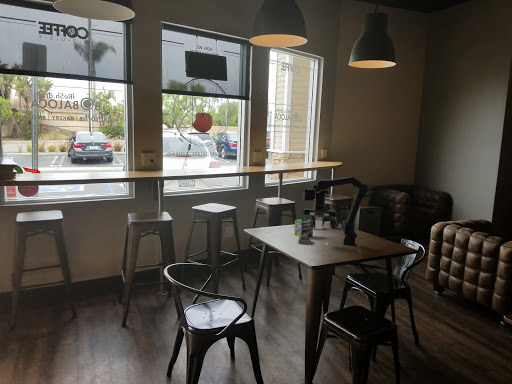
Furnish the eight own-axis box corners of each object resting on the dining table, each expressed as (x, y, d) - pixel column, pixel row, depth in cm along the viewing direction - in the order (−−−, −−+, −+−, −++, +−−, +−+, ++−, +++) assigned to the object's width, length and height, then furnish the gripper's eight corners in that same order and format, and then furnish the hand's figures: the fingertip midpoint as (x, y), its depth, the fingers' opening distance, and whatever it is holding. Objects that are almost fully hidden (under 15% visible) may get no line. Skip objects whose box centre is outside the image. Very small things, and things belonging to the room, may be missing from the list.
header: (310, 241, 244) (310, 237, 244) (309, 244, 236) (310, 241, 235) (299, 240, 245) (299, 236, 245) (298, 244, 237) (298, 240, 237)
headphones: (313, 229, 278) (314, 204, 276) (309, 227, 285) (311, 202, 282) (339, 229, 282) (340, 204, 279) (335, 227, 289) (337, 202, 286)
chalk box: (305, 235, 263) (306, 213, 261) (313, 238, 255) (314, 216, 253) (293, 236, 259) (294, 214, 257) (301, 240, 251) (302, 217, 249)
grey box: (322, 227, 237) (322, 217, 236) (322, 229, 232) (322, 219, 231) (315, 226, 237) (315, 217, 237) (315, 228, 233) (315, 218, 232)
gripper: (303, 202, 226) (302, 228, 228) (336, 204, 223) (334, 230, 225) (304, 199, 237) (303, 224, 239) (336, 200, 234) (334, 226, 236)
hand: (318, 226), depth 235 cm, fingers closed on grey box, 4 cm apart
